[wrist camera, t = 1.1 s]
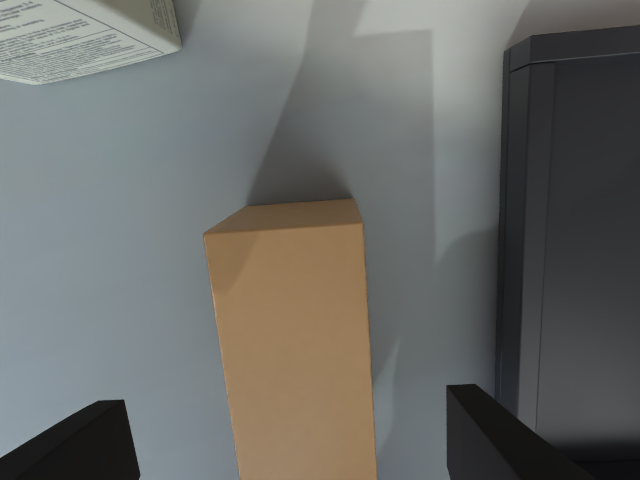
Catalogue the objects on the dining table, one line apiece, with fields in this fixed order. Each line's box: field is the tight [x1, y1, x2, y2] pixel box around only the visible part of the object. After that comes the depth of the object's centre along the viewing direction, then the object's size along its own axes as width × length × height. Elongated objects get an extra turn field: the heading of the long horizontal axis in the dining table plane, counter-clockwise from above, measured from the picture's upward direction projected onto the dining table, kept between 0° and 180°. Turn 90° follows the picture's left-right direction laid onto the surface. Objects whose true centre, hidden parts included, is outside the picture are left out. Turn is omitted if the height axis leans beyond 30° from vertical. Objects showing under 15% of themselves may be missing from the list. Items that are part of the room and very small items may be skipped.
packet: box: [203, 198, 378, 480], centre depth 14 cm, size 9×4×5 cm, turn 5°
